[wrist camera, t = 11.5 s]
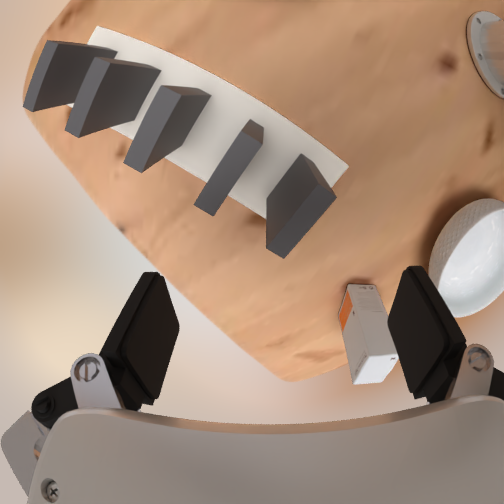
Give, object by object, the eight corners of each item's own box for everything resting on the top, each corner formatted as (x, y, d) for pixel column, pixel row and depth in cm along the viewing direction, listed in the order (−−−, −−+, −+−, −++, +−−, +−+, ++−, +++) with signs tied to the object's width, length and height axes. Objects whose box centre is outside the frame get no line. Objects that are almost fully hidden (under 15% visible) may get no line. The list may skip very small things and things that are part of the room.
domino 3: (168, 138, 25) (123, 162, 17) (197, 88, 22) (160, 85, 14) (181, 145, 26) (141, 173, 17) (211, 95, 23) (181, 95, 14)
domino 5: (313, 162, 26) (336, 197, 18) (278, 206, 29) (283, 258, 20) (300, 152, 26) (318, 183, 17) (266, 198, 28) (266, 248, 20)
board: (347, 164, 26) (349, 166, 26) (291, 232, 31) (291, 235, 31) (99, 26, 18) (97, 25, 18) (64, 101, 23) (61, 102, 22)
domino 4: (264, 127, 24) (262, 144, 16) (230, 175, 27) (213, 216, 19) (250, 118, 24) (241, 130, 16) (217, 167, 27) (193, 204, 18)
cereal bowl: (417, 302, 36) (434, 335, 30) (407, 207, 28) (436, 236, 22) (495, 264, 32) (517, 289, 26) (499, 171, 24) (532, 191, 18)
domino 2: (161, 70, 21) (110, 62, 13) (134, 120, 24) (78, 137, 16) (149, 64, 21) (94, 56, 12) (123, 114, 24) (64, 130, 15)
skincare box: (346, 282, 35) (369, 355, 24) (375, 283, 34) (404, 352, 24) (336, 315, 38) (351, 385, 28) (362, 315, 38) (383, 383, 28)
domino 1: (117, 51, 20) (58, 43, 11) (94, 99, 23) (32, 112, 14) (107, 47, 19) (47, 40, 11) (84, 95, 22) (22, 106, 14)
